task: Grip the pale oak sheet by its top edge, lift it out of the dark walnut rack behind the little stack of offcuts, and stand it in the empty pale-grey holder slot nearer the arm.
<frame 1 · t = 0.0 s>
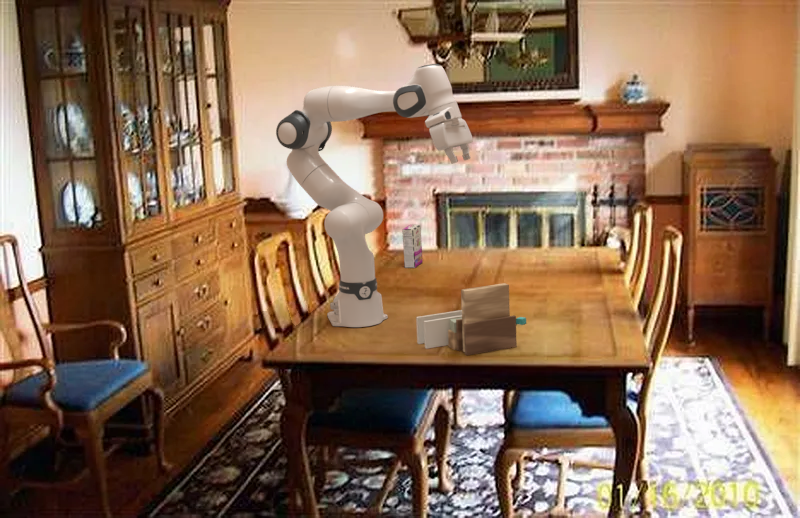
hand: (461, 161, 270), 52 cm above the table, tool tilted 20°, fingers open, 8 cm apart
candy bar box: (413, 265, 383), on the table
offcut a: (461, 346, 265), on the table, touching offcut c
rack: (486, 348, 262), on the table
offcut b: (483, 343, 268), on the table
alien figure: (481, 328, 286), on the table
offcut c: (460, 330, 265), point 5 cm above the table, touching offcut a
sheet: (486, 348, 263), on the table
holder: (446, 341, 271), on the table
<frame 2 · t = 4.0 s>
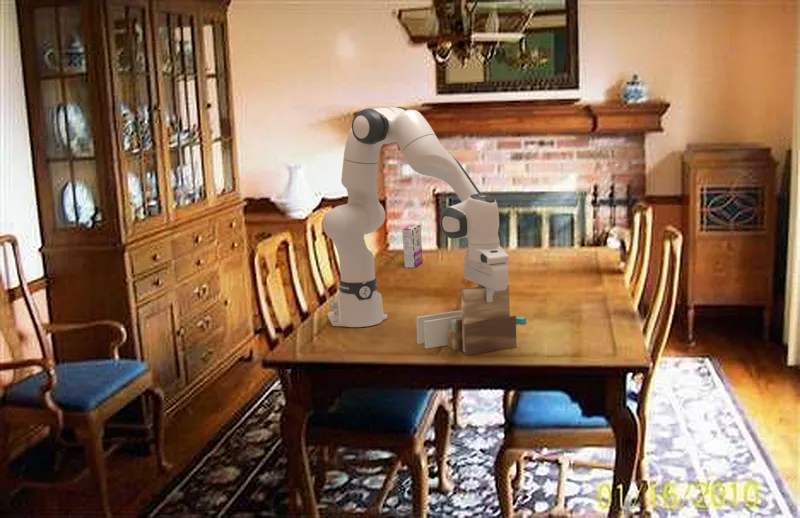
hand: (485, 300, 260), 14 cm above the table, tool pointing down, fingers closed on sheet, 2 cm apart
sheet: (486, 348, 262), on the table, touching gripper
everything else where it was.
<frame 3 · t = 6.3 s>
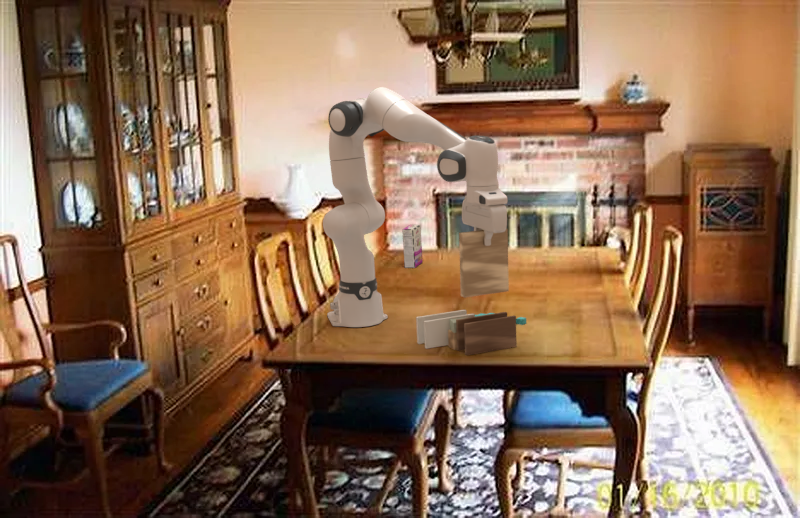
hand: (483, 244, 257), 30 cm above the table, tool pointing down, fingers closed on sheet, 2 cm apart
sheet: (484, 293, 259), point 16 cm above the table, touching gripper
everything else where it was.
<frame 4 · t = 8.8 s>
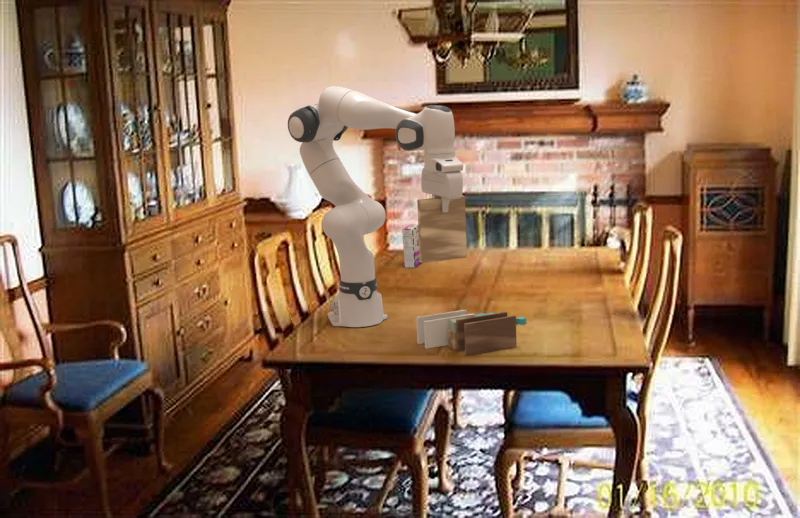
hand: (441, 211, 263), 39 cm above the table, tool pointing down, fingers closed on sheet, 2 cm apart
sheet: (443, 259, 266), point 25 cm above the table, touching gripper
everything else where it was.
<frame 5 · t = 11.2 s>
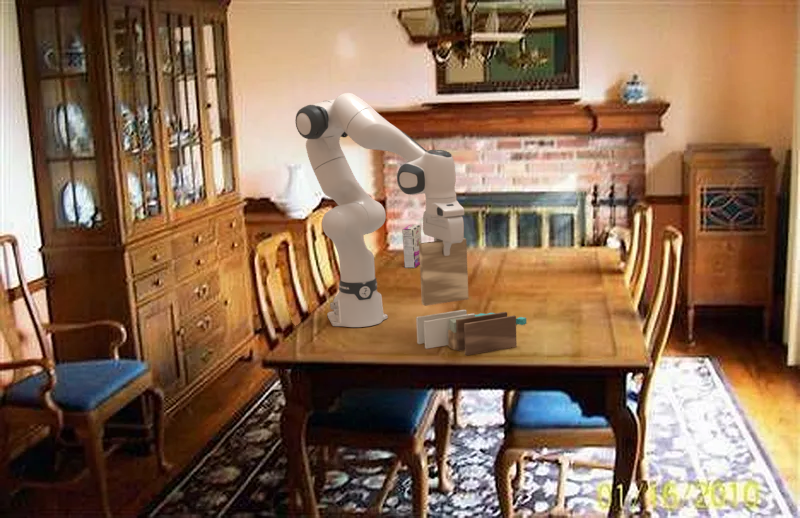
hand: (443, 254, 266), 26 cm above the table, tool pointing down, fingers closed on sheet, 2 cm apart
sheet: (445, 301, 268), point 12 cm above the table, touching gripper
everything else where it was.
when the fingers open (15 cm above the table, at t = 13.6 s): sheet stays where it is, on the table.
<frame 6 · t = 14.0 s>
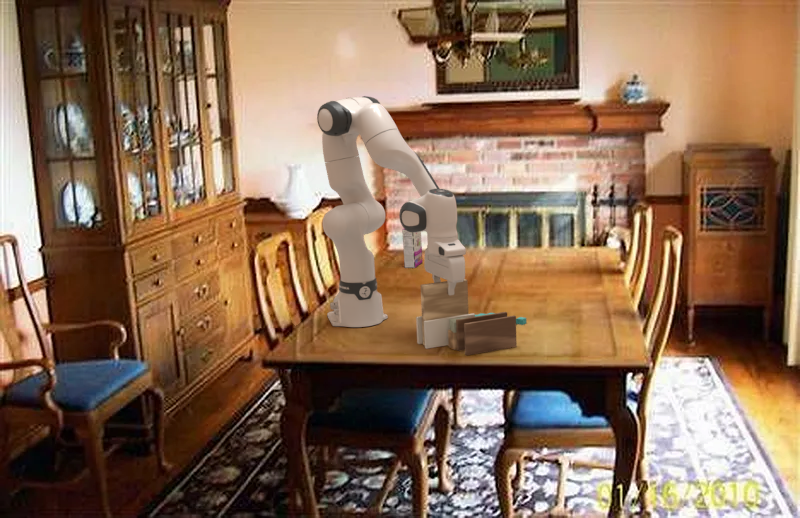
hand: (444, 292, 268), 15 cm above the table, tool pointing down, fingers open, 7 cm apart
sheet: (446, 341, 271), on the table
everything else where it was.
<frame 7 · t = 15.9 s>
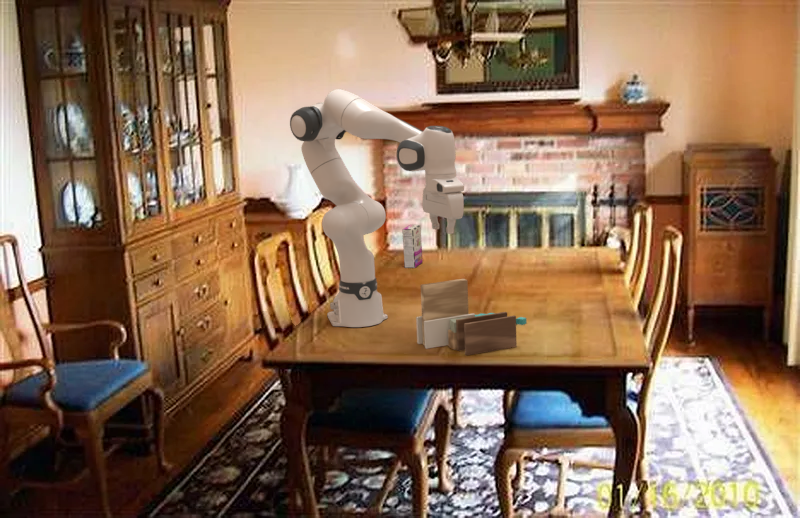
hand: (442, 231, 264), 33 cm above the table, tool pointing down, fingers open, 8 cm apart
nothing on the table moved.
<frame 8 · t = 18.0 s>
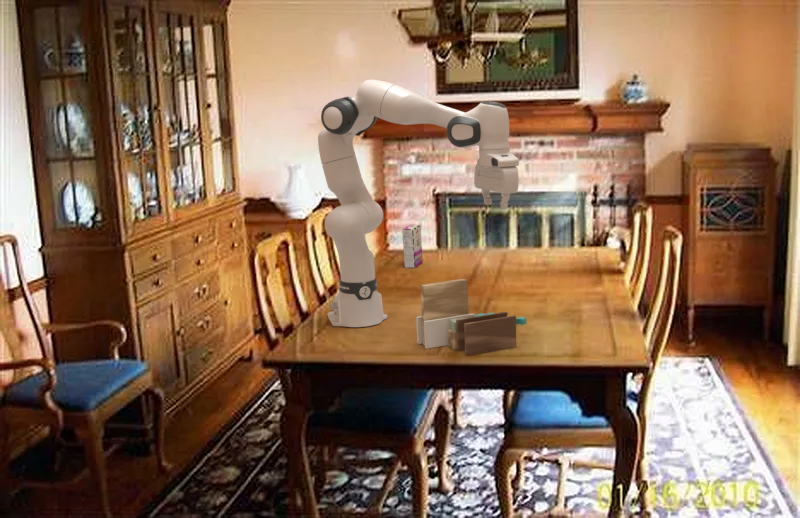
hand: (495, 206, 266), 39 cm above the table, tool pointing down, fingers open, 8 cm apart
offcut a: (460, 346, 265), on the table
offcut c: (460, 330, 265), point 5 cm above the table
everything else where it was.
at the end: sheet inside the target area (0.5 cm from its centre), on the table; sheet tilted 0°; the gripper is holding nothing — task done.
